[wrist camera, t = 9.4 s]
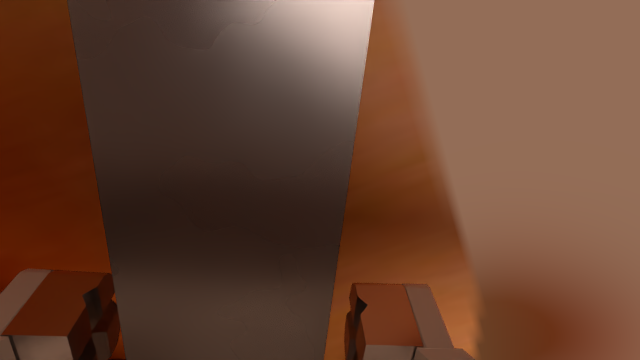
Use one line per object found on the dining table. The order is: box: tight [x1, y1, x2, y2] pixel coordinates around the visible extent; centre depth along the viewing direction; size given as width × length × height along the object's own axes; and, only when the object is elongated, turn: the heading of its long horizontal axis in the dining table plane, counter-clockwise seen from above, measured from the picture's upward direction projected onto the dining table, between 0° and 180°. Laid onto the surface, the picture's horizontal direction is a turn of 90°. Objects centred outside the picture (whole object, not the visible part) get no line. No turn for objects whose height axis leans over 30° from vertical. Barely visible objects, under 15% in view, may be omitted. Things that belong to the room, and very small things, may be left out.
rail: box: [67, 0, 374, 360], centre depth 9 cm, size 17×4×5 cm, turn 175°
